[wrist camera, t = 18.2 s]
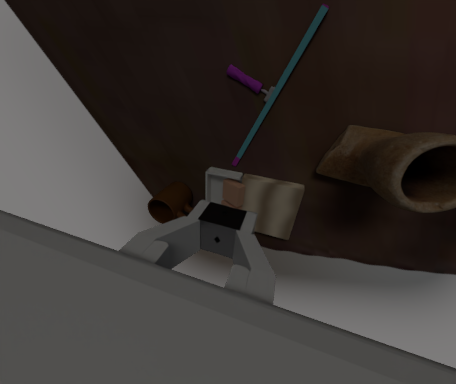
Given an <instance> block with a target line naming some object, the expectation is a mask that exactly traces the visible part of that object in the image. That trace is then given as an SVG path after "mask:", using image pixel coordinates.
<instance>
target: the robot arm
mask: <svg viewBox="0 0 456 384" xmlns="http://www.w3.org/2000/svg"><path fill="white" fill-rule="evenodd" d="M257 216H258V213H256V212H251V211H245V210H241V209H237V208H232V207H229V206H225V205H221V204H217V203H214V202H210V201H206V200H201V201H200V202H199V203H198V204H197V205H196V207H195V208H194V209H193V210H192V211H191V212H190V214H189V215H188V216H187V217H186V216H183V217H180V218H178V219H175V220H172V221H169V222H167V223H164V224H161V225H158V226H156V227H153V228H150V229H147V230H145V231H142V232H139V233H138V234H136V235H135V236H134V237H133V238H132V239H131V240H130V241H129V242H128V243H127V244H126V245H125V246H123V247H122V249H120V250H119V251H116V250H114V249H110V248H107V247H105V246H102V245H99V244H96V243H93V242H91V241H88V240H85V239H82V238H79V237H76V236H73V235H70V234H67V233H64V232H62V231H59V230H56V229H53V228H50V227H47V226H44V225H42V224H38V223H35V222H33V221H30V220H27V219H24V218H21V217H18V216H16V215H13V214H10V213H7V212H4V211H1V210H0V384H456V369H455V368H453V367H450V366H447V365H444V364H441V363H438V362H435V361H432V360H429V359H426V358H424V357H421V356H418V355H415V354H412V353H409V352H406V351H404V350H401V349H398V348H395V347H392V346H389V345H386V344H383V343H380V342H378V341H375V340H372V339H369V338H366V337H363V336H360V335H358V334H354V333H352V332H349V331H346V330H343V329H341V328H338V327H335V326H332V325H329V324H326V323H323V322H320V321H318V320H314V319H312V318H309V317H306V316H303V315H300V314H297V313H295V312H292V311H289V310H286V309H283V308H280V307H277V306H275V305H273V300H274V290H275V280H276V275H275V273H274V272H273V269H272V267H271V266H270V264H269V262H268V260H267V258H266V256H265V254H264V252H263V250H262V249H261V246H260V244H259V243H258V241H257V239H256V237H255V235H254V231H255V226H256V221H257ZM200 249H203V250H206V251H210V252H213V253H217V254H220V255H223V256H226V257H229V258H232V259H233V263H234V265H233V266H232V268H231V271H230V274H229V276H228V279H227V282H226V285H225V287H224V288H223V287H220V286H217V285H214V284H211V283H208V282H205V281H203V280H200V279H197V278H194V277H191V276H188V275H185V274H182V273H180V272H177V271H174V270H172V268H173V267H175V266H176V265H178V264H179V263H181V262H182V261H184V260H185V259H187V258H188V257H190V256H192V255H193V254H195V253H196V252H198V251H199V250H200Z"/></svg>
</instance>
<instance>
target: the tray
mask: <svg viewBox="0 0 456 384" xmlns="http://www.w3.org/2000/svg"><path fill="white" fill-rule="evenodd" d="M242 177H243V173H240V172H235V171H229V170H224V169H219V168H214V167H210V168H209V169H208V170H207V171H206V201H210V202H214V203H217V204H221V201H222V200H224V199H223V198H222V196H223V180H224V179H227V178H232V179H234V180H235V181H237V182H239V183H241V184H242Z"/></svg>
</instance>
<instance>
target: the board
mask: <svg viewBox="0 0 456 384" xmlns="http://www.w3.org/2000/svg"><path fill="white" fill-rule="evenodd" d="M242 184H243V185H245V193H244V200H243V205H241V206H242V210H245V211H251V212H256V213H258V216H257V221H256V226H255V231H256V232H259V233H263V234H267V235H271V236H274V237H278V238H282V239H286V240H288V239H289V236H290V233H291V230H292V227H293V224H294V221H295V218H296V215H297V212H298V209H299V206H300V203H301V199H302V196H303V193H304V185H301V184H296V183H291V182H286V181H281V180H276V179H271V178H265V177H260V176H255V175H250V174H245V175H244V176H243V178H242Z"/></svg>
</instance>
